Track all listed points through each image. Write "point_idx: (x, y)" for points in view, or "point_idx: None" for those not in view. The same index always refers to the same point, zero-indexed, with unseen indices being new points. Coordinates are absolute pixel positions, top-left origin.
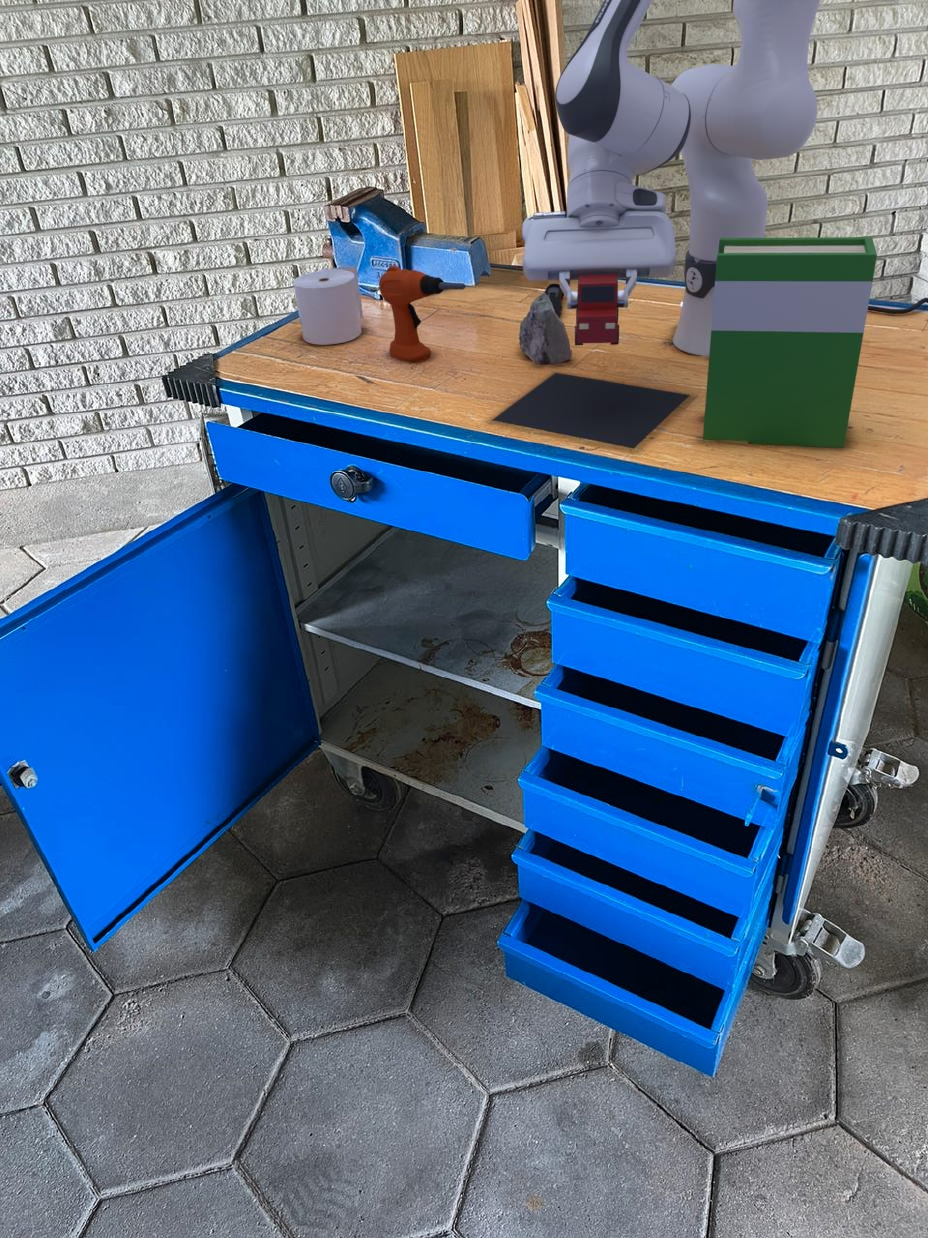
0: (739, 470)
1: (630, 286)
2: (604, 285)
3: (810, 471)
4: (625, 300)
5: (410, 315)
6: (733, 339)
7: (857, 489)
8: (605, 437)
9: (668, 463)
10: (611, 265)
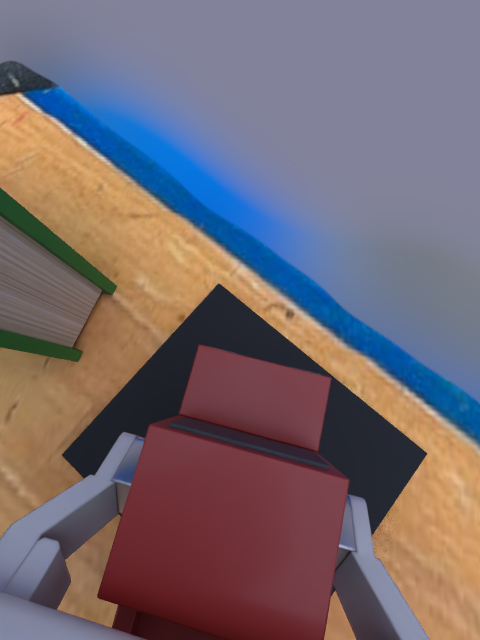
0: (107, 200)
1: (76, 483)
2: (214, 440)
3: (29, 178)
4: (131, 435)
5: None
6: None
7: (6, 131)
8: (249, 328)
9: (185, 239)
10: (110, 634)
